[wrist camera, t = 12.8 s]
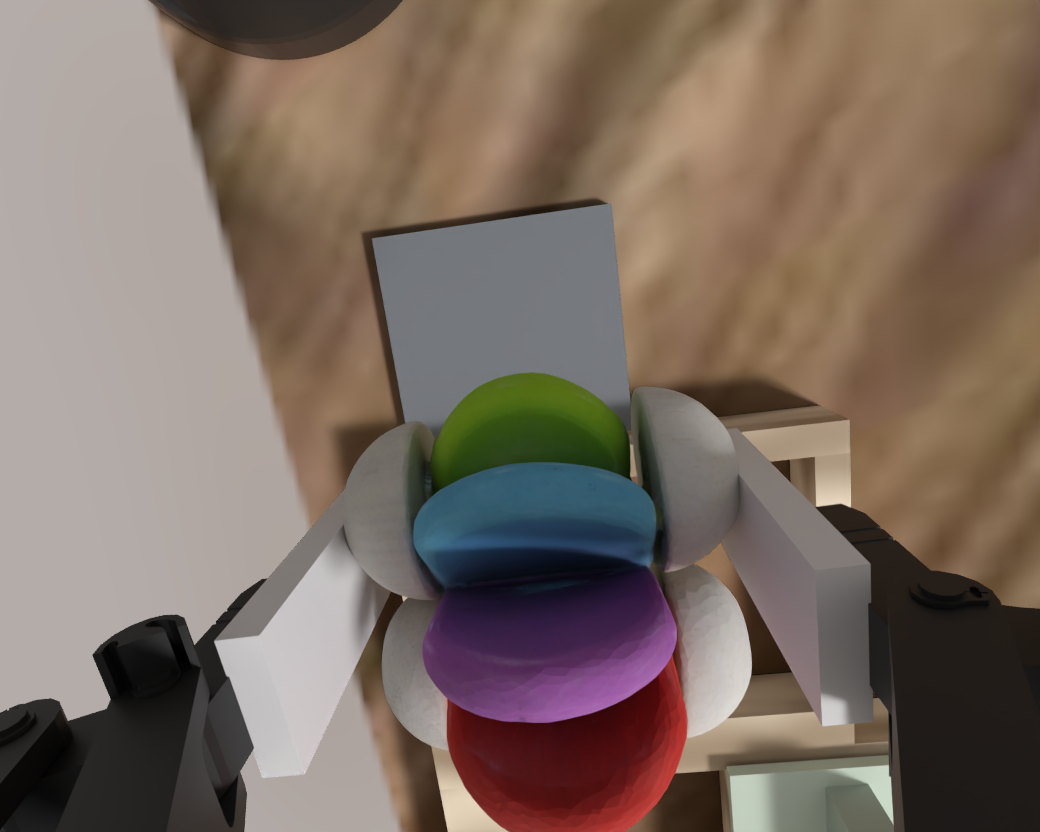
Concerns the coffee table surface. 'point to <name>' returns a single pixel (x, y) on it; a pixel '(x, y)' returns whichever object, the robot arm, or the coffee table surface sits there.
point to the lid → (812, 796)
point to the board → (769, 698)
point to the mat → (504, 308)
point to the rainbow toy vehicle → (555, 594)
